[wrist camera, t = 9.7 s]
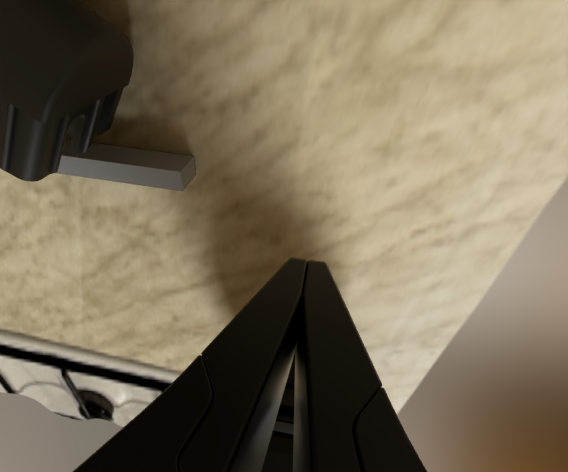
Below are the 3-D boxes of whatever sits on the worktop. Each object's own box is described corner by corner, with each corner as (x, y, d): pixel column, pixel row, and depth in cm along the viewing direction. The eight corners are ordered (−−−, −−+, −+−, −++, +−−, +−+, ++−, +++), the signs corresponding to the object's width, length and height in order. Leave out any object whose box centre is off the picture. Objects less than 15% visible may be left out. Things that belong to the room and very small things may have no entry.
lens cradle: (195, 174, 21) (175, 200, 18) (-18, 145, 22) (-62, 165, 20) (161, -154, 13) (117, -183, 10) (-177, -172, 14) (-286, -201, 11)
